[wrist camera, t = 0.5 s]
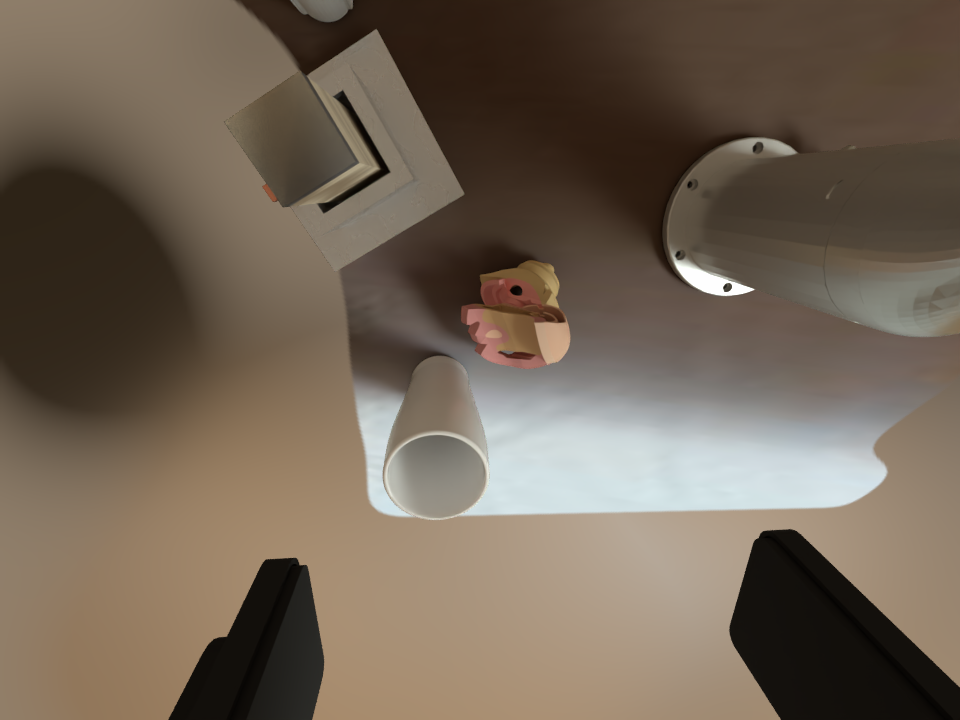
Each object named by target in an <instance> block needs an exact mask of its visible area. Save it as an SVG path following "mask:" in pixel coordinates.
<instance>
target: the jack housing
mask: <svg viewBox="0 0 960 720" xmlns="http://www.w3.org/2000/svg"><path fill="white" fill-rule="evenodd" d="M307 77H309V78H310V79H311V80H312V81H314V82H315V83H316V84H317V85H319V86H320V87H321V88H322V89H324V90H325V91H326V92H327V93H329V94H330V95H331V96H332V97H334V98H335V99H336V100H337V101H339V102H340V103H341V104H342V105H344V106H345V107H346V108H347V109H349V110H350V111H351V112H352V113H354V114H355V115H356V116H357V115H358V116H359V118H360V120H361V122H362V123H363V125H364V127H365V128H366V130H367V132H368V134H369V135H370V137H371V139H372V140H373V142H374V144H375V146H376V147H377V149H378V151H379V152H380V154H381V156H382V158H383V159H384V161H385V163H386V164H387V166H388V168H389V170H390V171H391V172H390V173H389V174H387V175H386V176H384V177H382V178H381V179H379V180H378V181H376V182H374V183H373V184H371V185H369V186H368V187H366V188H365V189H363V190H361V191H360V192H358V193H357V194H355V195H353V196H352V197H350V198H348V199H347V200H345V201H333V202H325V203H316V204H308V205H299V206H291V209H292V210H293V212H294V213H295V214H296V216H297V217H298V219H299V220H300V222H301V223H302V225H303V226H304V228H305V229H306V230H307V232H308V233H309V235H310V236H311V238H312V239H313V241H314V242H315V244H316V245H317V247H318V248H319V249H320V251H321V252H322V254H323V255H324V257H325V258H326V260H327V261H328V263H329V264H330V266H331V267H332V268H333V270H334V271H335V272H336V271H337V270H339V269H341V268H342V267H344V266H346V265H347V264H349V263H351V262H352V261H354V260H356V259H357V258H359V257H361V256H362V255H364V254H366V253H367V252H369V251H371V250H372V249H374V248H376V247H377V246H379V245H381V244H382V243H384V242H386V241H387V240H389V239H391V238H392V237H394V236H396V235H397V234H399V233H401V232H402V231H404V230H406V229H408V228H409V227H411V226H413V225H414V224H416V223H418V222H419V221H421V220H423V219H424V218H426V217H428V216H429V215H431V214H433V213H434V212H436V211H438V210H439V209H441V208H443V207H444V206H446V205H448V204H449V203H451V202H453V201H454V200H456V199H458V198H459V197H461V196H463V195H464V192H463V190H462V188H461V186H460V185H459V183H458V181H457V179H456V177H455V175H454V173H453V171H452V170H451V168H450V166H449V164H448V162H447V160H446V158H445V156H444V155H443V153H442V151H441V149H440V147H439V145H438V143H437V141H436V140H435V138H434V136H433V134H432V132H431V130H430V128H429V126H428V125H427V123H426V121H425V119H424V117H423V115H422V113H421V111H420V110H419V108H418V106H417V104H416V102H415V100H414V98H413V96H412V94H411V93H410V91H409V89H408V87H407V85H406V83H405V81H404V79H403V78H402V76H401V74H400V72H399V70H398V68H397V66H396V64H395V63H394V61H393V59H392V57H391V55H390V53H389V51H388V49H387V48H386V46H385V44H384V42H383V40H382V38H381V36H380V34H379V33H378V31H377V29H376V30H374V31H373V32H371V33H370V34H368V35H367V36H365V37H364V38H362V39H361V40H359V41H358V42H356V43H355V44H353V45H352V46H350V47H349V48H347V49H346V50H344V51H343V52H341V53H340V54H338V55H337V56H335V57H334V58H332V59H331V60H329V61H328V62H326V63H325V64H323V65H322V66H320V67H319V68H317V69H316V70H314V71H313V72H311V73H310V74H308V75H307ZM263 188H264V190H265V191H266V193H267V194H268V196H269V197H270V198H271V200H272V201H273V202H276V201H278V200H277V198H276V197H275V195H274V194H273V192H272V191H271V189H270V188H269V187H268V185H267V184H265V185H264V186H263Z"/></svg>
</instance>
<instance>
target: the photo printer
mask: <svg viewBox="0 0 960 720" xmlns="http://www.w3.org/2000/svg"><path fill="white" fill-rule="evenodd" d="M290 1H291V2H292V3H293V4H294V5H295V7H296V8H297V9H298V10H299V11H300V12H301V13H302V14H304V15H305V14H309V15H310V16H311V17H313V18H315V19H316V20H319V21H322V22H333V21H336V20H339V19H341V18H342V17H343V16H344V15H345V14H346V13H347V12H348V9H352V8H353V0H290Z"/></svg>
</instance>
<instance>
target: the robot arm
mask: <svg viewBox="0 0 960 720" xmlns="http://www.w3.org/2000/svg"><path fill="white" fill-rule="evenodd" d="M688 182H689V183H690V185H689V187H687V184H688ZM662 237H663V245H664V250H665V254H666V257H667V260H668V262H669V264H670V266H671V267H672V269H673V271H674V272H675V273H676V274H677V276H678V277H679V278H680V279H681V280H682V281H683V282H685V283H686V284H688V285H689V286H691V287H692V288H694V289H697V290H699V291H701V292H704V293H708V294H711V295H715V296H733V295H740V294H744V293H747V292H750V291H753V290H758V291H761V292H764V293H767V294H770V295H773V296H776V297H779V298H782V299H785V300H788V301H791V302H794V303H798V304H801V305H804V306H807V307H810V308H813V309H816V310H819V311H822V312H825V313H828V314H831V315H834V316H837V317H840V318H843V319H846V320H849V321H852V322H855V323H859V324H861V325H864V326H868V327H871V328H874V329H877V330H880V331H883V332H887V333H892V334H896V335H902V336H910V337H939V336H946V335H952V334H958V333H960V138H957V139H947V140H938V141H928V142H918V143H907V144H897V145H887V146H876V147H866V148H855V147H854V146H851V145H848V146H846V147H844V148H842V149H841V150H835V151H825V152H815V153H804V154H799V153H798V152H797V151H795V150H794V149H793V148H792V147H791V146H789V145H787V144H785V143H783V142H781V141H779V140H776V139H771V138H766V137H748V138H743V139H737V140H733V141H730V142H727V143H724V144H721V145H719V146H717V147H716V148H714V149H712V150H710V151H709V152H707V153H705V154H704V155H703V156H702V157H700V158H699V159H698V160H697V161H696V162H694V163H693V164H692V165H691V167H690V168H689V169H688V170H687V171H686V172H685V173H684V174H683V176H682V177H681V179H680V180H679V182H678V183H677V185H676V187H675V188H674V190H673V192H672V194H671V197H670V199H669V201H668V204H667V207H666V211H665V215H664V219H663V231H662ZM677 251H678V254H677V256H675V254H676V252H677ZM729 630H730V636H731V640H732V642H733V644H734V647H735V648H736V650H737V651H738V653H739V654H740V656H741V658H742V659H743V661H744V662H745V664H746V665H747V667H748V669H749V670H750V672H751V673H752V675H753V676H754V678H755V680H756V681H757V683H758V684H759V686H760V687H761V689H762V691H763V692H764V693H765V695H766V697H767V698H768V700H769V702H770V703H771V705H772V706H773V708H774V709H775V711H776V713H777V714H778V716H779V717H780V719H781V720H960V687H959V686H958V685H956V683H954V682H953V681H952V680H951V679H950V678H949V677H948V676H947V675H946V674H945V673H944V672H943V671H942V670H941V669H940V668H939V667H938V666H937V665H936V664H935V663H934V662H933V661H932V660H930V658H928V656H926V655H925V654H924V653H923V652H922V651H921V650H920V649H919V648H918V647H917V646H916V645H915V644H914V643H913V642H912V641H911V640H910V639H909V638H908V637H907V636H906V635H905V634H904V633H903V632H902V631H900V630H899V629H898V628H897V627H896V626H895V625H894V624H893V623H892V622H891V621H890V620H889V619H888V618H887V617H886V616H885V615H884V614H883V613H882V612H881V611H880V610H879V609H878V608H877V607H876V606H875V605H874V604H872V603H871V602H870V601H869V600H868V599H867V598H866V597H865V596H864V595H863V594H862V593H861V592H860V591H859V590H858V589H857V588H856V587H855V586H854V585H853V584H852V583H851V582H850V581H848V579H846V578H845V577H844V576H843V575H842V574H841V573H840V572H839V571H838V570H837V569H836V568H835V567H834V566H833V565H832V564H831V563H830V562H829V561H828V560H827V559H826V558H825V557H824V556H823V555H822V554H821V553H819V552H818V551H817V550H816V549H815V548H814V547H813V546H812V545H811V544H810V543H809V542H808V541H807V540H806V539H805V538H804V537H803V536H802V535H801V534H799V533H798V532H797V531H795V530H791V529H788V530H771V531H763V532H762V533H761V534H760V536H759V538H758V539H756V540H755V541H754V543H753V546H752V550H751V553H750V557H749V560H748V564H747V567H746V571H745V574H744V578H743V582H742V585H741V588H740V592H739V596H738V599H737V602H736V606H735V610H734V613H733V616H732V620H731V623H730V629H729ZM323 670H324V655H323V649H322V644H321V638H320V633H319V627H318V621H317V616H316V611H315V605H314V599H313V593H312V588H311V582H310V576H309V571H308V567H307V565H299V562H298V560H297V558H284V559H268V560H265V561H264V562H263V564H262V565H261V567H260V569H259V571H258V573H257V575H256V578H255V580H254V582H253V584H252V586H251V588H250V590H249V592H248V594H247V596H246V598H245V600H244V602H243V604H242V607H241V609H240V611H239V613H238V615H237V617H236V619H235V621H234V623H233V626H232V628H231V629H230V632H229V634H228V636H227V637H219V638H216V639H214V640H213V641H212V642H211V643H209V644H208V646H207V648H206V649H205V651H204V652H203V654H202V656H201V658H200V659H199V662H198V663H197V665H196V667H195V669H194V671H193V673H192V675H191V677H190V679H189V681H188V683H187V685H186V687H185V688H184V691H183V693H182V694H181V696H180V698H179V700H178V702H177V704H176V706H175V708H174V710H173V712H172V714H171V716H170V717H169V720H312V718H313V714H314V710H315V706H316V702H317V697H318V694H319V689H320V685H321V681H322V677H323Z"/></svg>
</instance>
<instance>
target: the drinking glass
mask: <svg viewBox="0 0 960 720" xmlns="http://www.w3.org/2000/svg"><path fill="white" fill-rule="evenodd" d="M489 478H490V471H489V457H488V448H487V442H486V436H485V432H484V428H483V425H482V422H481V419H480V416H479V413H478V410H477V407H476V404H475V400H474V397H473V394H472V391H471V388H470V383H469V377H468V374H467V372H466V370H465V368H464V367H463V366H462V365H461V364H460V363H459V362H458V361H456V360H455V359H453V358H450V357H447V356H433V357H429V358H427V359H425V360H423V361H422V362H421V363H419V364H418V366H417V367H416V368H415V370H414V371H413V374H412V376H411V381H410V385H409V387H408V390H407V392H406V395H405V397H404V400H403V402H402V404H401V407H400V409H399V412H398V414H397V416H396V419H395V421H394V424H393V427H392V429H391V433H390V436H389V440H388V444H387V448H386V454H385V460H384V467H383V483H384V487H385V490H386V492H387V494H388V496H389V497H390V499H391V500H392V501H393V502H394V504H395V505H397V506H398V507H399V508H400V509H401V510H403V511H405V512H406V513H408V514H410V515H413V516H415V517H418V518H422V519H429V520H442V519H448V518H452V517H456V516H458V515H461V514H463V513H465V512H467V511H468V510H470V509H471V508H472V507H474V506H475V505H476V504H477V503H478V502H479V501H480V499H481V498H482V497H483V495H484V493H485V491H486V489H487V487H488V483H489Z"/></svg>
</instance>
